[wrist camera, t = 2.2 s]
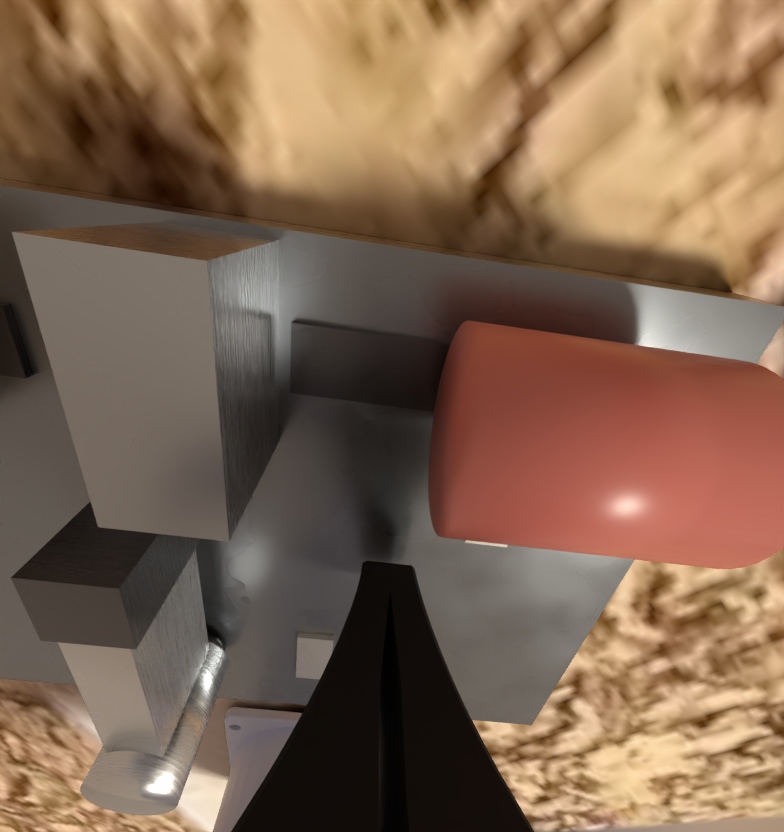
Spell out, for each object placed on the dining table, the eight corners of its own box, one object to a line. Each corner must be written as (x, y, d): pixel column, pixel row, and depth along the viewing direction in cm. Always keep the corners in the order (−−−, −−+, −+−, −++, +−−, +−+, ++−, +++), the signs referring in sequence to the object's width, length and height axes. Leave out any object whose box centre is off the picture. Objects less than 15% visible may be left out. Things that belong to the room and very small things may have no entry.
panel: (521, 685, 17) (560, 836, 13) (-5, 636, 16) (-145, 786, 12) (734, 293, 9) (1009, 364, 5) (-287, 133, 8) (-1026, 55, 4)
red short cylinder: (613, 478, 9) (722, 618, 6) (423, 455, 9) (437, 588, 6) (687, 332, 8) (892, 422, 4) (457, 299, 7) (502, 369, 4)
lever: (231, 680, 14) (182, 817, 11) (161, 674, 14) (91, 811, 10) (211, 480, 10) (122, 611, 6) (110, 468, 9) (-31, 596, 6)
